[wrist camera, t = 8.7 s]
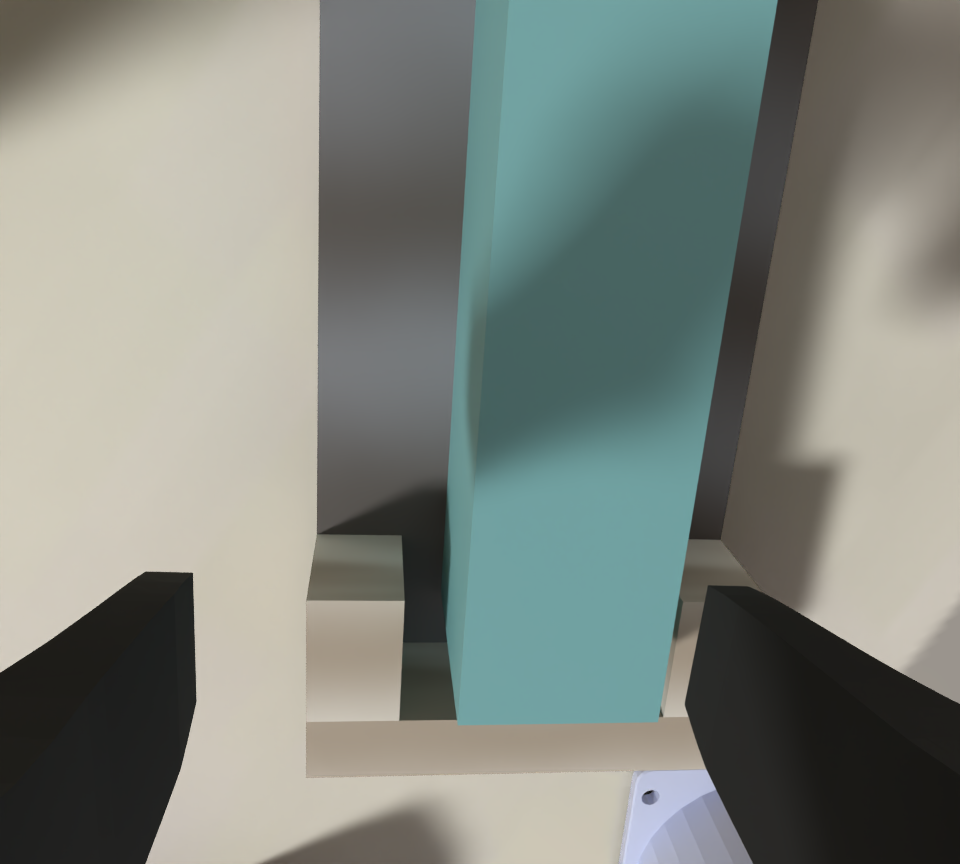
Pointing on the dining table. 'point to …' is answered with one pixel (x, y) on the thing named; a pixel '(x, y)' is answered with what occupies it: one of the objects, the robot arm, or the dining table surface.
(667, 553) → the slat
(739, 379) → the cradle
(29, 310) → the dining table surface
